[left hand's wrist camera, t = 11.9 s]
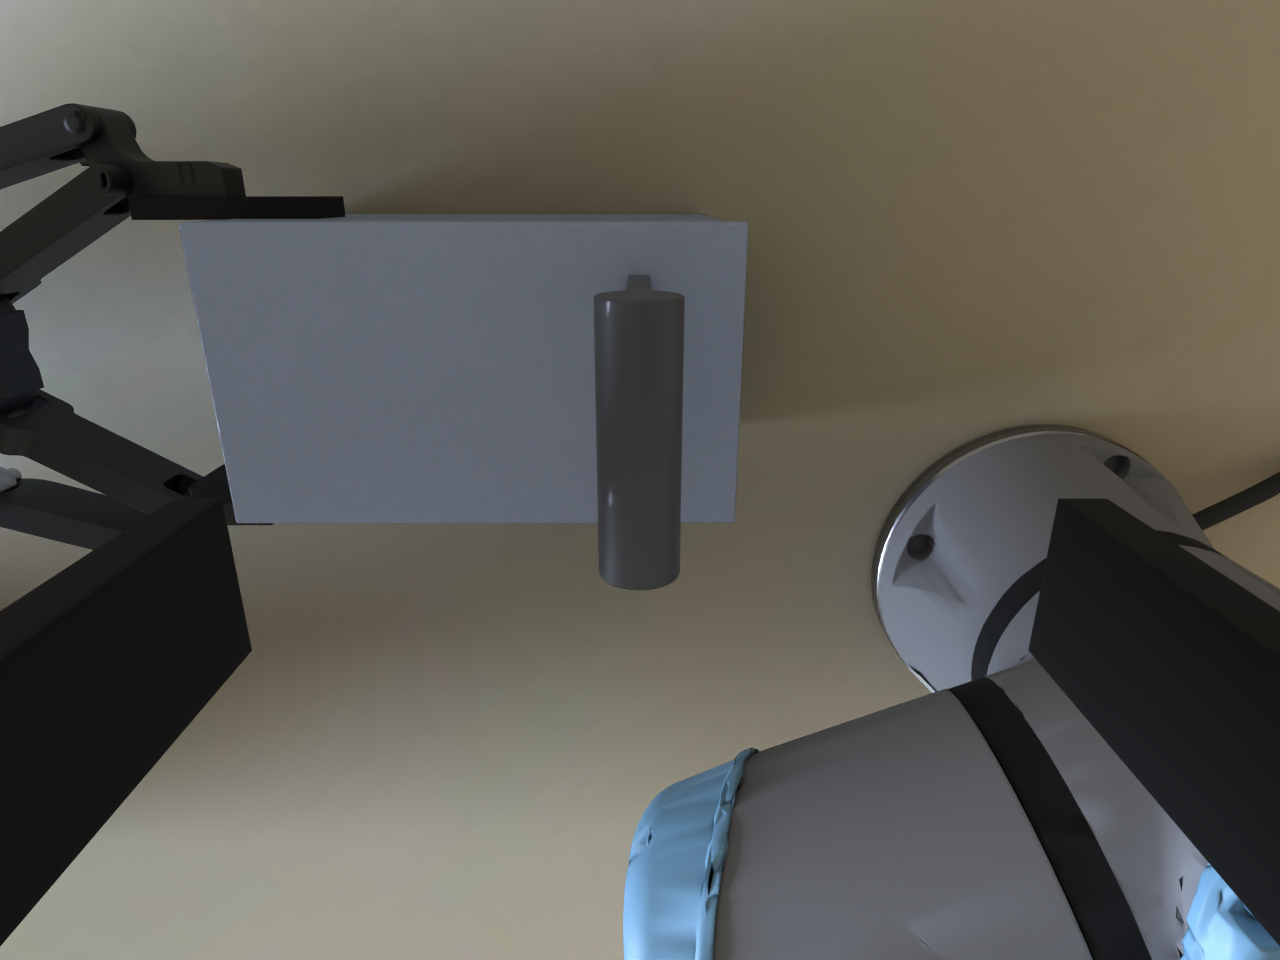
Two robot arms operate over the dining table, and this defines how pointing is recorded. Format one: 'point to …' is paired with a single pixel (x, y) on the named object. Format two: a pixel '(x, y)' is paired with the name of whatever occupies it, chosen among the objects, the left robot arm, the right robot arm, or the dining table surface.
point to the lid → (479, 374)
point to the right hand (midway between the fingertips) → (349, 353)
